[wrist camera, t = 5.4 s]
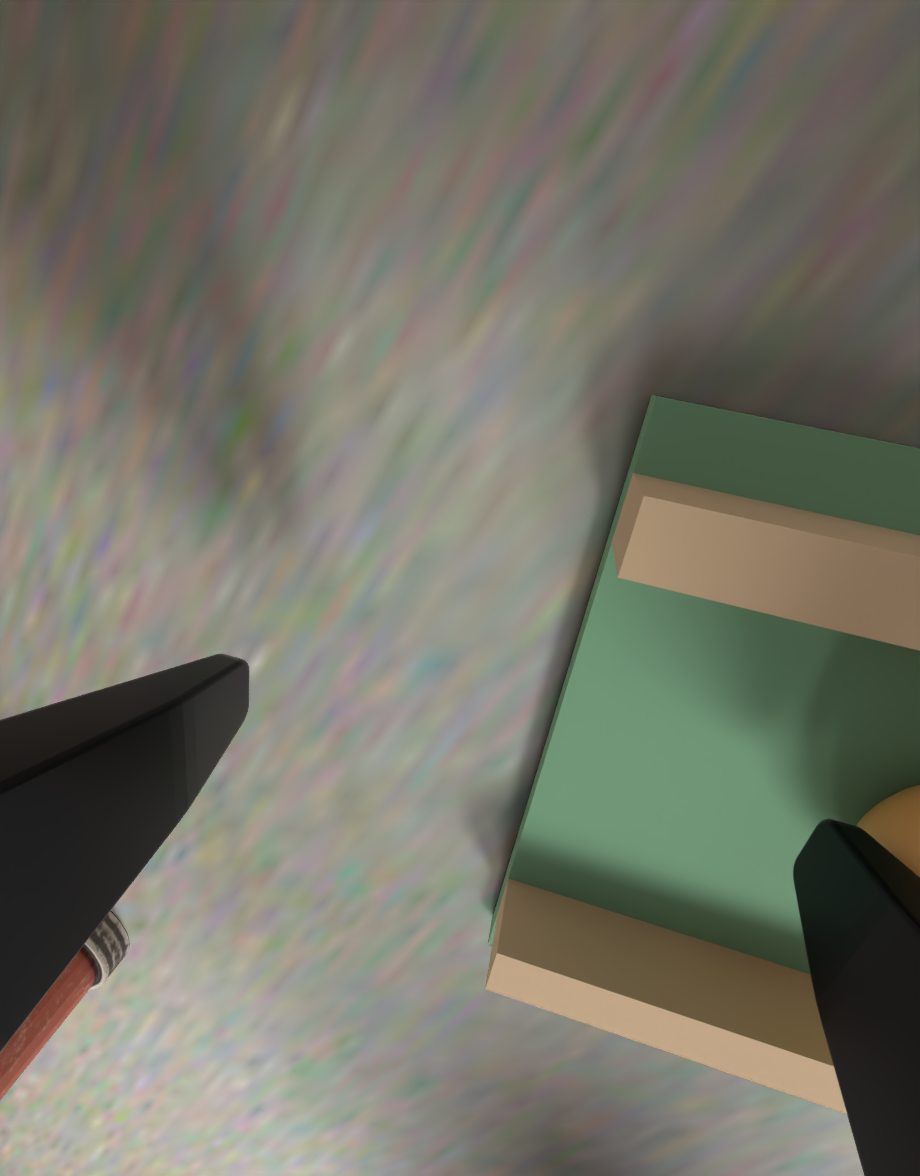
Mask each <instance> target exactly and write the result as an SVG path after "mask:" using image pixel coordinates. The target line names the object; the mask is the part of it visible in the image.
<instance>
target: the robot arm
mask: <svg viewBox="0 0 920 1176" xmlns="http://www.w3.org/2000/svg"><path fill="white" fill-rule="evenodd" d="M248 707H249V666H248V663H247V662H246V661H245V660H243V659H240V658H237V657H233V656H229V655H226V654H217V655H213V656H210V657H207V658H203V659H200V660H197V661H193V662H190V663H187V664H184V665H180V666H177V667H174V668H170V669H167V670H164V671H160V672H157V673H154V674H150V675H147V676H144V677H141V678H137V679H134V680H131V681H127V682H124V683H121V684H117V685H114V686H111V687H108V688H104V689H101V690H98V691H94V692H91V693H88V694H84V695H81V696H78V697H75V698H71V699H68V700H65V701H61V702H58V703H55V704H51V705H48V706H45V707H42V708H38V709H35V710H32V711H28V712H25V713H22V714H18V715H15V716H12V717H8V718H5V719H2V720H0V1052H1V1051H2V1050H3V1049H4V1047H5V1046H6V1045H7V1043H8V1042H9V1041H10V1039H11V1038H12V1037H13V1036H14V1034H15V1033H16V1032H17V1030H18V1029H19V1028H20V1027H21V1025H22V1024H23V1023H24V1021H25V1020H26V1019H27V1018H28V1016H29V1015H30V1014H31V1012H32V1011H33V1010H34V1009H35V1007H36V1006H37V1005H38V1003H39V1002H40V1001H41V999H42V998H43V997H44V996H45V994H46V993H47V992H48V990H49V989H50V988H51V987H52V985H53V984H54V983H55V981H56V980H57V979H58V978H59V976H60V975H61V974H62V972H63V971H64V970H65V969H66V967H67V966H68V965H69V963H70V962H71V961H72V959H73V958H74V957H75V956H76V954H77V953H78V952H79V950H80V949H81V948H82V947H83V945H84V944H85V943H86V941H87V940H88V939H89V938H90V936H91V935H92V934H93V932H94V931H95V930H96V929H97V927H98V926H99V925H100V923H101V922H102V921H103V919H104V918H105V917H106V916H107V914H108V913H109V912H110V910H111V909H112V908H113V907H114V905H115V904H116V903H117V901H118V900H119V899H120V898H121V896H122V895H123V894H124V892H125V891H126V890H127V889H128V887H129V886H130V885H131V883H132V882H133V881H134V879H135V878H136V877H137V876H138V874H139V873H140V872H141V870H142V869H143V868H144V867H145V865H146V864H147V863H148V861H149V860H150V859H151V858H152V856H153V855H154V854H155V852H156V851H157V850H158V849H159V847H160V846H161V845H162V843H163V842H164V841H165V839H166V838H167V837H168V836H169V834H170V833H171V832H172V830H173V829H174V828H175V827H176V825H177V824H178V823H179V821H180V820H181V819H182V817H183V816H184V815H185V813H186V812H187V810H188V809H189V808H190V806H191V805H192V803H193V801H194V800H195V798H196V797H197V795H198V794H199V792H200V791H201V789H202V787H203V786H204V784H205V783H206V781H207V779H208V778H209V776H210V775H211V773H212V771H213V770H214V768H215V767H216V765H217V763H218V762H219V760H220V759H221V757H222V755H223V754H224V752H225V751H226V749H227V747H228V746H229V744H230V742H231V741H232V739H233V738H234V736H235V734H236V733H237V731H238V730H239V728H240V726H241V725H242V723H243V721H244V720H245V717H246V715H247V712H248ZM793 881H794V886H795V892H796V897H797V903H798V908H799V914H800V920H801V925H802V931H803V936H804V942H805V947H806V953H807V958H808V964H809V969H810V975H811V980H812V985H813V990H814V994H815V999H816V1004H817V1007H818V1011H819V1015H820V1019H821V1023H822V1027H823V1030H824V1034H825V1037H826V1041H827V1045H828V1048H829V1052H830V1055H831V1059H832V1062H833V1066H834V1069H835V1073H836V1076H837V1080H838V1083H839V1087H840V1091H841V1094H842V1098H843V1101H844V1105H845V1108H846V1112H847V1115H848V1119H849V1122H850V1126H851V1130H852V1133H853V1137H854V1140H855V1144H856V1147H857V1151H858V1154H859V1158H860V1161H861V1165H862V1169H863V1172H864V1176H920V877H919V876H918V875H916V874H915V873H914V872H913V871H912V870H911V869H909V868H908V867H907V866H906V865H905V864H903V863H902V862H901V861H900V860H899V859H898V858H896V857H895V856H894V855H893V854H892V853H890V852H889V851H888V850H887V849H886V848H885V847H883V846H882V845H881V844H880V843H879V842H877V841H876V840H875V839H874V838H873V837H872V836H870V835H869V834H868V833H867V832H866V831H864V830H863V829H861V828H860V827H857V826H855V825H851V824H847V823H844V822H840V821H836V820H833V819H824V820H822V821H821V822H819V823H818V825H817V826H816V827H815V829H814V831H813V832H812V834H811V835H810V837H809V839H808V840H807V842H806V843H805V845H804V847H803V848H802V850H801V851H800V853H799V855H798V856H797V858H796V860H795V863H794V867H793Z"/></svg>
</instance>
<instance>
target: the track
mask: <svg viewBox="0 0 920 1176" xmlns="http://www.w3.org/2000/svg"><path fill="white" fill-rule="evenodd" d="M917 785H920V448H916V447H911V446H906V445H901V444H896V443H891V442H886V441H881V440H875V439H870V438H865V437H860V436H855V435H850V434H845V433H840V432H835V431H830V430H825V429H820V428H815V427H810V426H805V425H800V424H795V423H790V422H785V421H780V420H775V419H770V418H765V417H760V416H755V415H750V414H745V413H740V412H735V411H730V410H725V409H720V408H715V407H710V406H705V405H700V404H695V403H690V402H685V401H680V400H675V399H670V398H665V397H660V396H655V395H651V398H650V401H649V405H648V408H647V411H646V415H645V418H644V421H643V424H642V428H641V431H640V434H639V438H638V441H637V444H636V447H635V451H634V454H633V457H632V461H631V464H630V467H629V470H628V474H627V477H626V480H625V484H624V487H623V490H622V493H621V497H620V500H619V503H618V507H617V510H616V513H615V516H614V520H613V523H612V526H611V530H610V533H609V536H608V539H607V543H606V546H605V549H604V553H603V556H602V559H601V562H600V566H599V569H598V572H597V576H596V579H595V582H594V586H593V589H592V592H591V595H590V599H589V602H588V605H587V609H586V612H585V615H584V618H583V622H582V625H581V628H580V632H579V635H578V638H577V641H576V645H575V648H574V651H573V655H572V658H571V661H570V664H569V668H568V671H567V674H566V678H565V681H564V684H563V687H562V691H561V694H560V697H559V701H558V704H557V707H556V710H555V714H554V717H553V720H552V724H551V727H550V730H549V733H548V737H547V740H546V743H545V747H544V750H543V753H542V756H541V760H540V763H539V766H538V770H537V773H536V776H535V779H534V783H533V786H532V789H531V793H530V796H529V799H528V802H527V806H526V809H525V812H524V816H523V819H522V822H521V825H520V829H519V832H518V835H517V839H516V842H515V845H514V848H513V852H512V855H511V858H510V862H509V865H508V868H507V871H506V875H505V878H504V881H503V885H502V888H501V891H500V894H499V898H498V901H497V904H496V908H495V911H494V914H493V917H492V923H491V929H490V935H489V940H488V945H491V946H492V951H491V957H490V963H489V969H488V975H487V982H486V988H485V989H487V990H489V991H492V992H495V993H498V994H501V995H504V996H507V997H510V998H513V999H515V1000H518V1001H521V1002H524V1003H527V1004H530V1005H533V1006H536V1007H539V1008H542V1009H544V1010H547V1011H550V1012H553V1013H556V1014H559V1015H562V1016H565V1017H568V1018H570V1019H573V1020H576V1021H579V1022H582V1023H585V1024H588V1025H591V1026H594V1027H596V1028H599V1029H602V1030H605V1031H608V1032H611V1033H614V1034H617V1035H620V1036H622V1037H625V1038H628V1039H631V1040H634V1041H637V1042H640V1043H643V1044H646V1045H649V1046H651V1047H654V1048H657V1049H660V1050H663V1051H666V1052H669V1053H672V1054H675V1055H677V1056H680V1057H683V1058H686V1059H689V1060H692V1061H695V1062H698V1063H701V1064H703V1065H706V1066H709V1067H712V1068H715V1069H718V1070H721V1071H724V1072H727V1073H729V1074H732V1075H735V1076H738V1077H741V1078H744V1079H747V1080H750V1081H753V1082H755V1083H758V1084H761V1085H764V1086H767V1087H770V1088H773V1089H776V1090H779V1091H782V1092H784V1093H787V1094H790V1095H793V1096H796V1097H799V1098H802V1099H805V1100H808V1101H810V1102H813V1103H816V1104H819V1105H822V1106H825V1107H828V1108H831V1109H834V1110H836V1111H839V1112H842V1113H845V1114H847V1112H846V1108H845V1105H844V1101H843V1098H842V1094H841V1091H840V1087H839V1083H838V1080H837V1076H836V1073H835V1069H834V1066H833V1062H832V1059H831V1055H830V1052H829V1048H828V1045H827V1041H826V1037H825V1034H824V1030H823V1027H822V1023H821V1019H820V1015H819V1011H818V1007H817V1004H816V999H815V994H814V990H813V985H812V980H811V975H810V969H809V964H808V958H807V953H806V947H805V942H804V936H803V931H802V925H801V920H800V914H799V908H798V903H797V897H796V892H795V886H794V881H793V867H794V863H795V860H796V858H797V856H798V855H799V853H800V851H801V850H802V848H803V847H804V845H805V843H806V842H807V840H808V839H809V837H810V835H811V834H812V832H813V831H814V829H815V827H816V826H817V825H818V823H819V822H821V821H822V820H824V819H833V820H836V821H840V822H844V823H847V824H851V825H855V826H856V825H857V823H858V822H859V821H860V820H861V819H862V818H863V817H864V815H865V814H866V813H867V812H869V811H870V810H871V809H872V808H873V807H874V806H876V805H877V804H878V803H880V802H881V801H883V800H885V799H886V798H888V797H890V796H892V795H894V794H896V793H898V792H900V791H902V790H905V789H907V788H910V787H914V786H917Z"/></svg>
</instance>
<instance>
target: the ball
mask: <svg viewBox="0 0 920 1176" xmlns="http://www.w3.org/2000/svg"><path fill="white" fill-rule="evenodd" d="M856 826H857V827H860V828H861V829H863V830H864V831H866V832H867V833H868V834H869V835H870V836H872V837H873V838H874V839H875V840H876V841H877V842H879V843H880V844H881V845H882V846H883V847H885V848H886V849H887V850H888V851H889V852H890V853H892V854H893V855H894V856H895V857H896V858H898V859H899V860H900V861H901V862H902V863H903V864H905V865H906V866H907V867H908V868H909V869H911V870H912V871H913V872H914V873H915V874H916V875H918V876H919V877H920V785H917V786H914V787H910V788H907V789H905V790H902V791H900V792H898V793H896V794H894V795H892V796H890V797H888V798H886V799H885V800H883V801H881V802H880V803H878V804H877V805H876V806H874V807H873V808H872V809H871V810H870V811H869V812H867V813H866V814H865V815H864V817H863V818H862V819H861V820H860V821H859V822H858V823H857V825H856Z"/></svg>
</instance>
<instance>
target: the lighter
mask: <svg viewBox="0 0 920 1176" xmlns="http://www.w3.org/2000/svg"><path fill="white" fill-rule="evenodd" d="M129 945H130V944H129V940H128V936H127V933H126V931H125V930H124V928H123V926H122V924H121V923H120V921H119V920H118V919H117V918H116V917H115V916H114V915H113V913H112V912H111V911H110V912H109V913H108V914H107V916H106V917H105V918H104V919H103V921H102V922H101V923H100V925H99V926H98V927H97V929H96V930H95V931H94V932H93V934H92V935H91V936H90V938H89V939H88V940H87V941H86V943H85V944H84V945H83V947H82V948H81V949H80V950H79V952H78V953H77V954H76V956H75V957H74V958H73V959H72V961H71V962H70V963H69V965H68V966H67V967H66V969H65V970H64V971H63V972H62V974H61V975H60V976H59V978H58V979H57V980H56V981H55V983H54V984H53V985H52V987H51V988H50V989H49V990H48V992H47V993H46V994H45V996H44V997H43V998H42V999H41V1001H40V1002H39V1003H38V1005H37V1006H36V1007H35V1009H34V1010H33V1011H32V1012H31V1014H30V1015H29V1016H28V1018H27V1019H26V1020H25V1021H24V1023H23V1024H22V1025H21V1027H20V1028H19V1029H18V1030H17V1032H16V1033H15V1034H14V1036H13V1037H12V1038H11V1039H10V1041H9V1042H8V1043H7V1045H6V1046H5V1047H4V1049H3V1050H2V1051H1V1052H0V1100H1V1099H2V1098H3V1096H4V1095H5V1094H6V1093H7V1091H8V1090H9V1089H10V1088H11V1086H12V1085H13V1084H14V1083H15V1081H16V1080H17V1079H18V1078H19V1076H20V1075H21V1074H22V1073H23V1071H24V1070H25V1069H26V1068H27V1066H28V1065H29V1064H30V1063H31V1061H32V1060H33V1059H34V1058H35V1056H36V1055H37V1054H38V1053H39V1051H40V1050H41V1049H42V1048H43V1046H44V1045H45V1044H46V1043H47V1041H48V1040H49V1039H50V1038H51V1036H52V1035H53V1034H54V1033H55V1031H56V1030H57V1029H58V1028H59V1026H60V1025H61V1024H62V1023H63V1021H64V1020H65V1019H66V1018H67V1016H68V1015H69V1014H70V1013H71V1011H72V1010H73V1009H74V1008H75V1006H76V1005H77V1004H78V1003H79V1002H80V1000H81V999H82V998H83V997H84V995H85V994H86V993H87V992H88V991H89V990H92V989H95V988H98V987H99V986H100V985H102V984H103V983H104V982H105V981H106V979H107V978H108V977H109V975H110V974H111V973H112V972H113V970H114V969H115V968H116V967H117V965H118V964H119V963H120V961H121V960H122V959H123V958H124V956H125V955H126V954H127V952H128V949H129Z"/></svg>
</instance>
